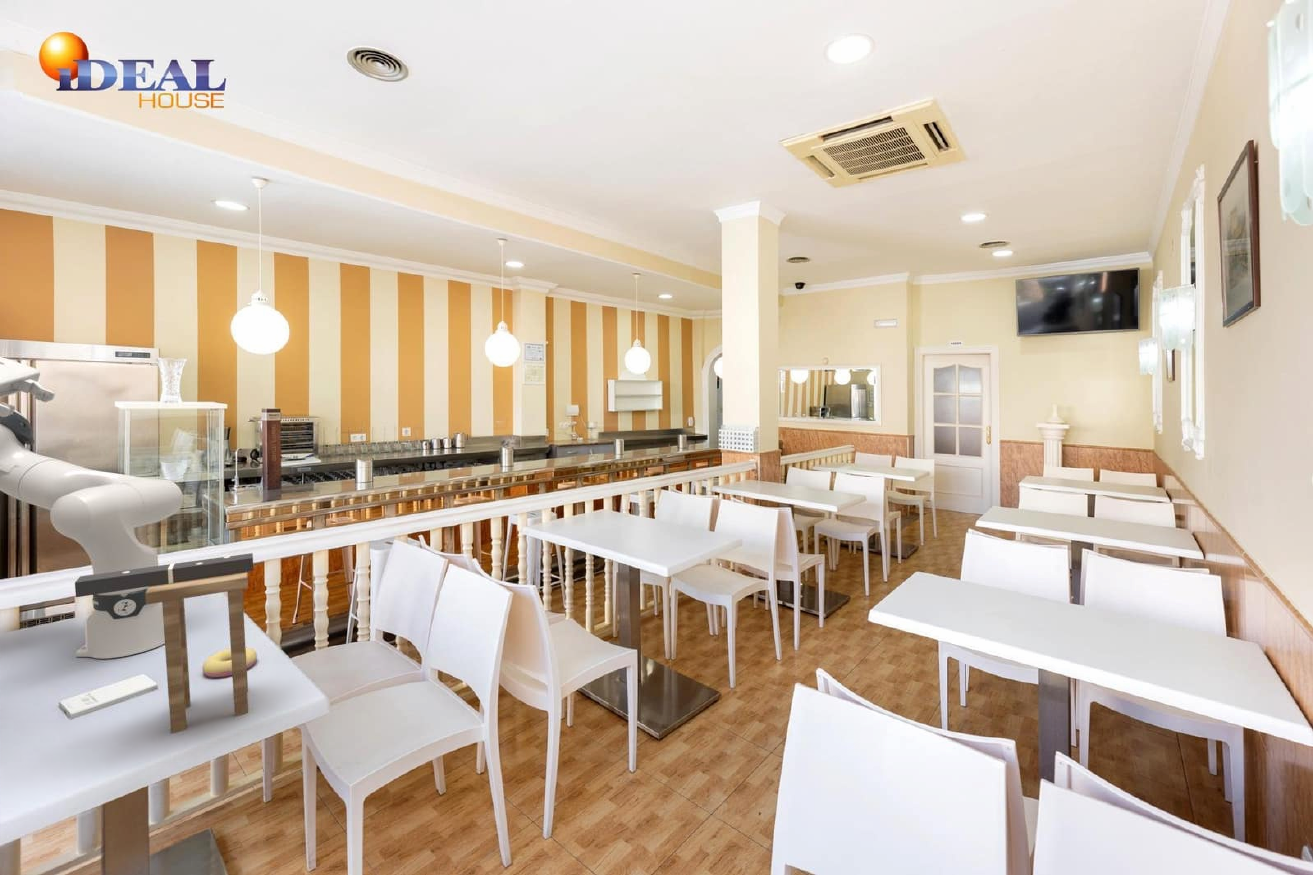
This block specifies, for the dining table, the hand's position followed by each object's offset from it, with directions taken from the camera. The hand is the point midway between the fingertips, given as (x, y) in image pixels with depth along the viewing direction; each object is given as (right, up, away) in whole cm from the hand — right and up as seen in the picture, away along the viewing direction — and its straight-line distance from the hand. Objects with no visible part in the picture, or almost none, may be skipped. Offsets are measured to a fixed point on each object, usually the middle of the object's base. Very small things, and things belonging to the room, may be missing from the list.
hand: (31, 404), depth 97 cm
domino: (+21, -32, +4) cm, 38 cm away
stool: (+24, -58, +9) cm, 63 cm away
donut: (+16, -57, +25) cm, 64 cm away
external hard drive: (+1, -58, +13) cm, 59 cm away
